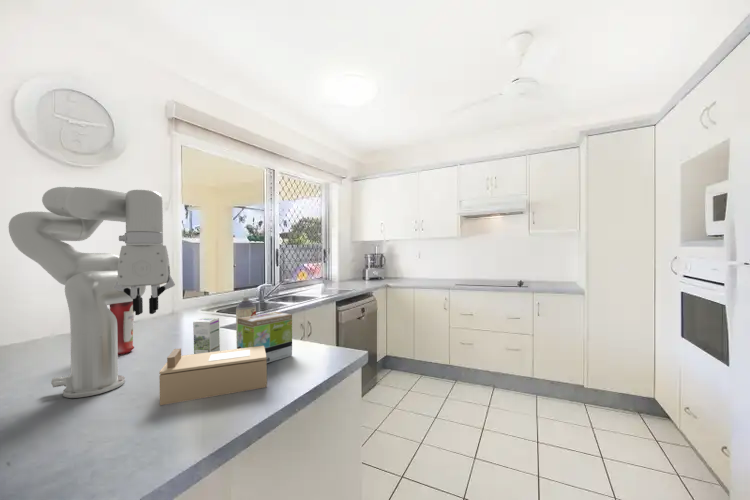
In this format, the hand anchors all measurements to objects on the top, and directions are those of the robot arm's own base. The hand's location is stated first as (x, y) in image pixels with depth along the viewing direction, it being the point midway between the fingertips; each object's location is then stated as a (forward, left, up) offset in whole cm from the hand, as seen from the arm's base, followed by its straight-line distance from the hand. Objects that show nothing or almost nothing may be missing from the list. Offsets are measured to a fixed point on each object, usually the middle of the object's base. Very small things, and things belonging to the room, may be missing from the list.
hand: (145, 313), depth 79 cm
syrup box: (+11, +22, -21) cm, 33 cm away
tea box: (+29, +18, -21) cm, 41 cm away
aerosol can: (+23, +30, -21) cm, 44 cm away
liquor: (-20, +50, -21) cm, 58 cm away
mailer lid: (+16, 0, -14) cm, 21 cm away
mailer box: (+16, 0, -21) cm, 27 cm away
